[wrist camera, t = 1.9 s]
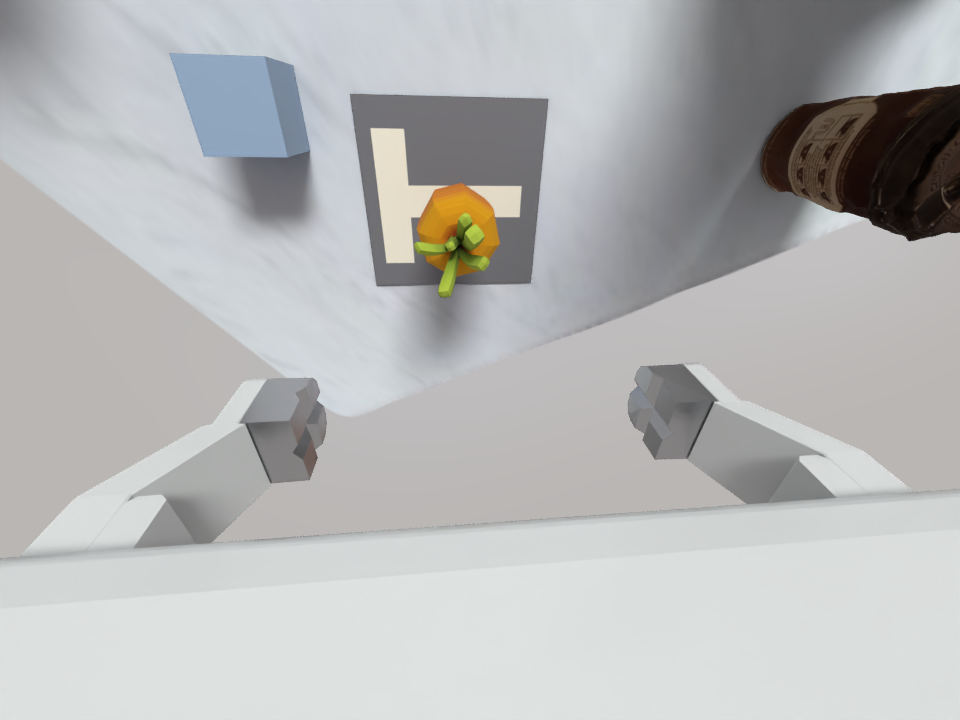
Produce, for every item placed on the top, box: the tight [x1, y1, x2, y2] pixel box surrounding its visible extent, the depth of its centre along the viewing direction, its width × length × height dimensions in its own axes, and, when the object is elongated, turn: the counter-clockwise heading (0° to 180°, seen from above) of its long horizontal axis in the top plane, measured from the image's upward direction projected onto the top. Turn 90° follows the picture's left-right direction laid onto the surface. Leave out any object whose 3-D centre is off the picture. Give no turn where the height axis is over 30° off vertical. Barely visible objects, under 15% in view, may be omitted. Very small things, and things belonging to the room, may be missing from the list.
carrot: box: [414, 183, 500, 298], centre depth 24 cm, size 5×5×15 cm
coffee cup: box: [761, 84, 960, 241], centre depth 26 cm, size 9×8×13 cm
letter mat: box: [350, 94, 548, 285], centre depth 31 cm, size 14×14×1 cm
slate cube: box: [169, 53, 310, 158], centre depth 24 cm, size 5×5×5 cm
